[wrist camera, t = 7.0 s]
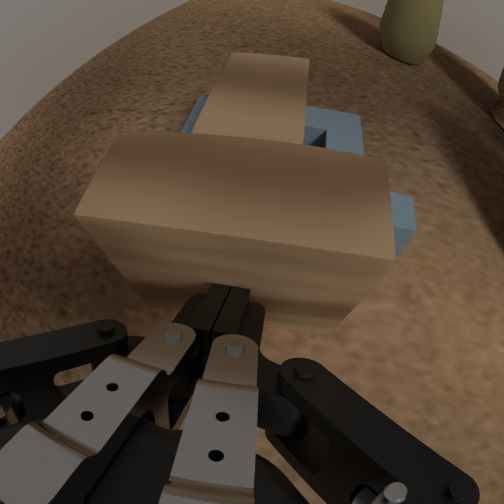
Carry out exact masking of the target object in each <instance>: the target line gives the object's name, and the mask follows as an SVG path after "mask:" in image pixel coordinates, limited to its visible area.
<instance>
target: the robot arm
mask: <svg viewBox="0 0 504 504" xmlns="http://www.w3.org/2000/svg"><path fill="white" fill-rule="evenodd" d="M250 292H251V290H249V289H243V288H237V287H232V288H231V287H230V286H224V285H218V284H213V285H212V286H211V288H210V289H209V291H208V293H207V294H201V293H197V294H195V295H193V296H191V297H189V299H188V300H187V302H186V303H185V305H184V306H183V307H182V309H181V310H180V311H179V313H178V314H177V316H176V317H175V318H174V320H173V321H172V323H165V324H161V325H159V326H157V327H155V328H154V329H153V330H152V331H151V332H150V333H149V334H148V335H147V336H146V337H137V336H128V335H127V328H126V326H125V325H124V324H122V323H121V322H119V321H115V320H99V321H94V322H90V323H86V324H82V325H77V326H73V327H69V328H64V329H60V330H55V331H51V332H46V333H42V334H37V335H33V336H28V337H23V338H19V339H14V340H9V341H4V342H0V504H309V503H308V502H307V500H306V499H305V498H304V497H303V496H302V495H301V493H300V492H299V491H298V490H297V489H296V488H295V486H294V485H293V484H292V483H291V482H290V480H289V479H288V478H287V477H286V476H285V474H284V473H283V472H282V471H280V470H279V469H278V468H277V467H276V466H275V465H274V464H272V463H271V462H270V461H268V460H267V459H265V458H263V457H262V456H260V455H258V454H256V435H257V427H259V428H262V429H264V430H265V434H266V437H267V439H268V440H269V441H270V443H271V444H272V445H273V446H274V447H275V448H276V450H277V451H278V452H279V453H280V454H281V455H282V456H283V457H284V459H285V460H286V461H287V462H288V463H289V464H290V465H291V466H292V467H293V469H294V470H295V471H296V472H297V473H298V474H299V475H300V476H301V477H302V478H303V479H304V480H305V482H306V483H307V484H308V485H309V486H310V487H311V488H312V489H313V490H314V491H315V492H316V493H317V494H318V495H319V496H320V497H321V498H322V499H323V500H324V501H325V502H326V503H327V504H478V502H479V496H480V493H479V488H478V486H477V484H476V482H475V481H474V480H473V479H472V478H471V477H470V476H469V475H467V474H466V473H464V472H463V471H462V470H460V469H459V468H457V467H456V466H454V465H453V464H451V463H450V462H449V461H447V460H446V459H444V458H443V457H442V456H440V455H439V454H437V453H436V452H435V451H433V450H432V449H430V448H429V447H428V446H426V445H425V444H423V443H422V442H421V441H419V440H418V439H417V438H415V437H414V436H413V435H411V434H410V433H409V432H407V431H406V430H404V429H403V428H402V427H400V426H399V425H398V424H396V423H395V422H394V421H392V420H391V419H390V418H389V417H387V416H386V415H385V414H383V413H382V412H381V411H379V410H378V409H377V408H375V407H374V406H373V405H372V404H370V403H369V402H368V401H366V400H365V399H364V398H362V397H361V396H360V395H359V394H357V393H356V392H355V391H354V390H352V389H351V388H350V387H348V386H347V385H346V384H345V383H343V382H342V381H341V380H340V379H338V378H337V377H336V376H335V375H333V374H332V373H331V372H330V371H328V370H327V369H326V368H325V367H323V366H322V365H321V364H319V363H318V362H316V361H313V360H310V359H306V358H292V359H288V360H286V361H284V362H283V363H282V364H281V365H279V364H276V363H274V362H272V361H270V360H268V359H267V358H265V357H264V356H263V355H262V353H261V352H260V343H261V337H262V331H263V325H264V319H265V312H266V310H265V308H264V307H263V305H262V304H261V303H255V302H249V301H250ZM90 363H91V367H92V373H91V374H90V375H89V376H88V377H87V378H86V379H84V380H80V381H77V382H73V383H69V384H66V385H62V386H56V385H54V382H53V380H54V377H55V375H56V374H57V373H58V372H60V371H64V370H68V369H71V368H75V367H79V366H82V365H86V364H90ZM188 411H189V412H188ZM187 413H188V415H187ZM186 415H187V418H186V422H185V425H184V429H183V430H179V428H180V426H181V424H182V422H183V420H184V418H185V417H186Z"/></svg>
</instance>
